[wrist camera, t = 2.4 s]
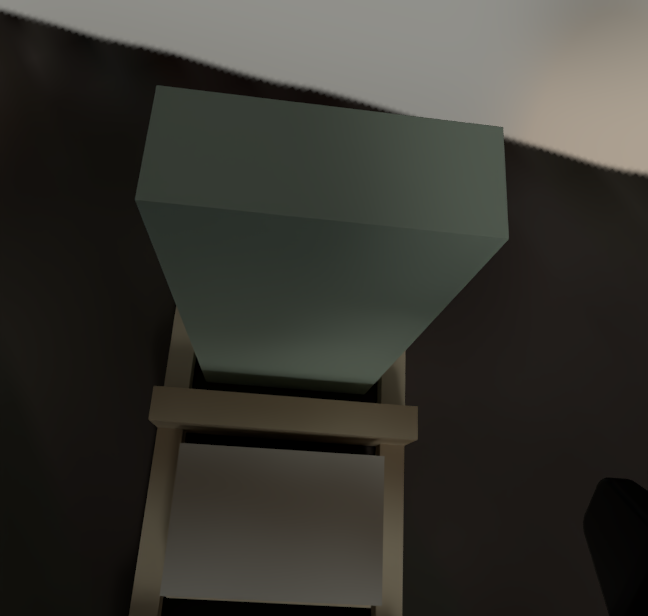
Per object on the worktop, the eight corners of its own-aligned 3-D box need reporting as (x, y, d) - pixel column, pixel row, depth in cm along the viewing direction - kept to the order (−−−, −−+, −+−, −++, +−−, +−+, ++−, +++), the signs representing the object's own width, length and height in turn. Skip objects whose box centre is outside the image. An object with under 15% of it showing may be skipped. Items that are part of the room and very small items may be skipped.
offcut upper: (371, 598, 17) (381, 605, 16) (168, 588, 17) (159, 596, 16) (375, 460, 19) (384, 456, 17) (186, 448, 18) (180, 443, 17)
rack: (394, 703, 17) (416, 733, 15) (122, 693, 17) (100, 723, 14) (401, 297, 22) (418, 272, 19) (184, 277, 21) (175, 248, 19)
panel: (364, 394, 20) (508, 238, 9) (206, 381, 20) (135, 199, 8) (366, 339, 21) (503, 126, 9) (213, 326, 21) (156, 85, 9)
